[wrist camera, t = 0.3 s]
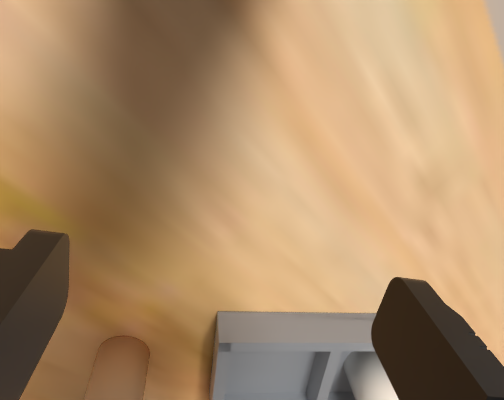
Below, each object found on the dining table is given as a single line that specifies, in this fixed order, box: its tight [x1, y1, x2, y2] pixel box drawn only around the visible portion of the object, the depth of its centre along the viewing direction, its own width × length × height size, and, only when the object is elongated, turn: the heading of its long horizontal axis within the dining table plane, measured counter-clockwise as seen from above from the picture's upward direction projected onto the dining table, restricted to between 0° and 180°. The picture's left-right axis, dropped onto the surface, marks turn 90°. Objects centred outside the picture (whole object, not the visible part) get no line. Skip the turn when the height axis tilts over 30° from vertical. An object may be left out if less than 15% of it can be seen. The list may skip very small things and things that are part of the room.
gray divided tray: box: [209, 311, 376, 400], centre depth 36 cm, size 10×20×4 cm, turn 83°
